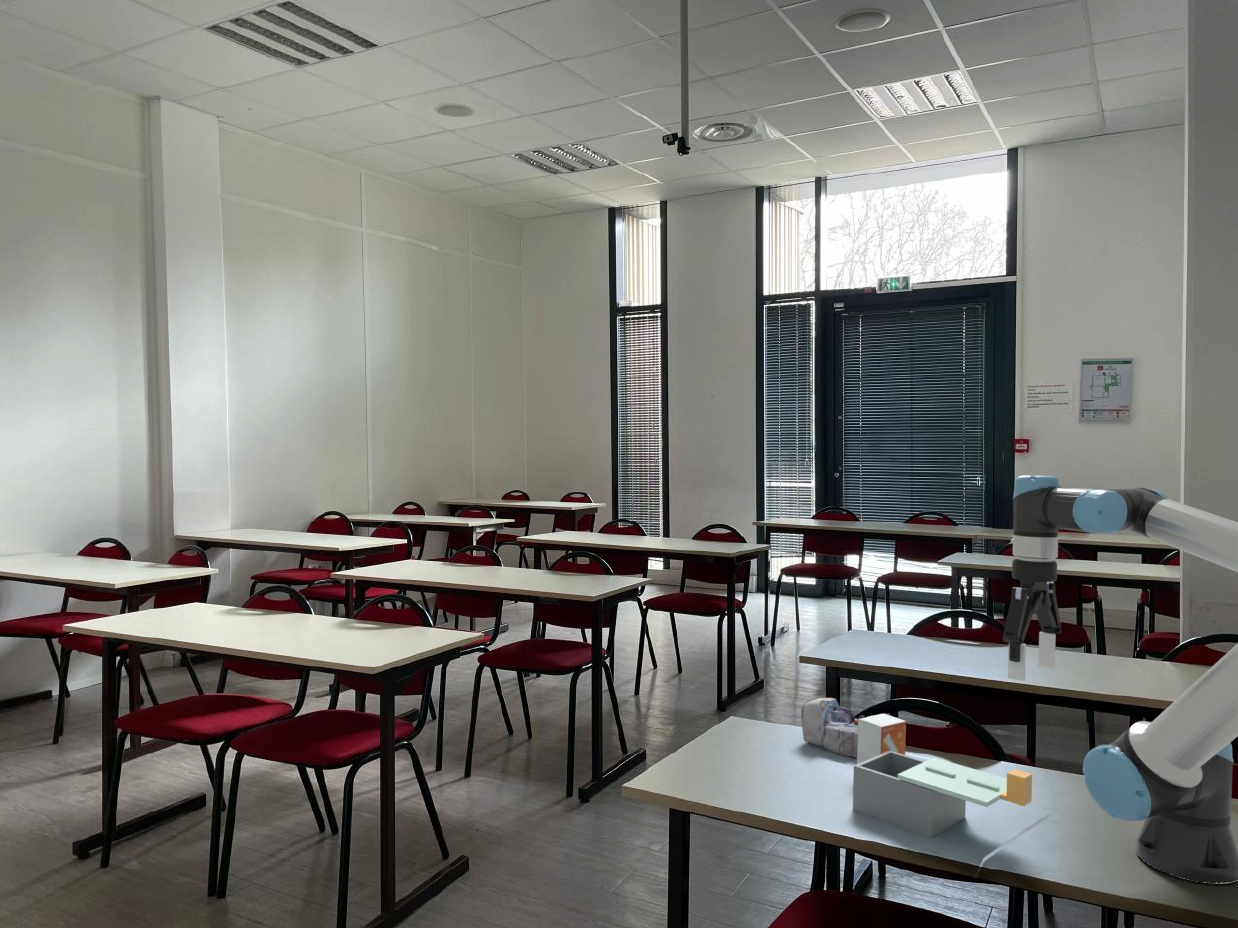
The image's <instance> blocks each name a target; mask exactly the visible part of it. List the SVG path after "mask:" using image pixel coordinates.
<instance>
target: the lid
mask: <svg viewBox="0 0 1238 928" xmlns="http://www.w3.org/2000/svg"><path fill="white" fill-rule="evenodd" d="M924 761H925V762H923V763H921V764H919V765H917V766H914V767H912V768H910V769H908V770H906V771H904V772H902V773H899V774H898V779H900V780H903V781H906V782H909V783H913V784H916V785H919V786H922V787H925V788H928V789H931V790H935V791H938V792H941V793H944V794H947V795H950V796H953V797H956V798H960V799H963V800H966V801H967V802H969V803H973V804H976V805H979V806H982V807H984V808H988V807H990V806H991V805H993V804H995V803H996V802H998V801H1000V800H1003V801H1005V802H1009V803H1013V804H1015V805H1018V806H1021V807H1022V806H1023V807H1026V806H1027V805H1029V804H1030V803H1032V797H1033V796H1032V795H1033V792H1032V790H1033V789H1032V788H1033V787H1032V786H1033V774H1032V773H1030V772H1026V771H1023V770H1019V769H1015V768H1014V769H1012V770H1010V771H1009V772H1007V773H1006V777H1003V776H1000V775H996V774H992V773H989V772H986V771H983V770H979V769H976V768H975V769H974V768H971V767H969V766H966V765H961V764H958V763H954V762H951V761H948V760H945V759H941V758H937V757H932V758H930V759H927V760H924Z"/></svg>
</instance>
